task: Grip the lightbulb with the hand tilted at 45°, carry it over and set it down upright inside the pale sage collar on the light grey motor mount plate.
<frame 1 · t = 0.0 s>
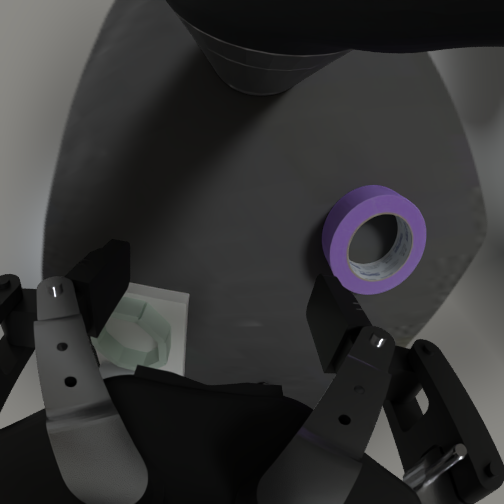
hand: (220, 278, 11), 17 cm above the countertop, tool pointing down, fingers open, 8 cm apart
motor mount: (138, 336, 36), on the countertop
masking tape: (368, 233, 30), on the countertop
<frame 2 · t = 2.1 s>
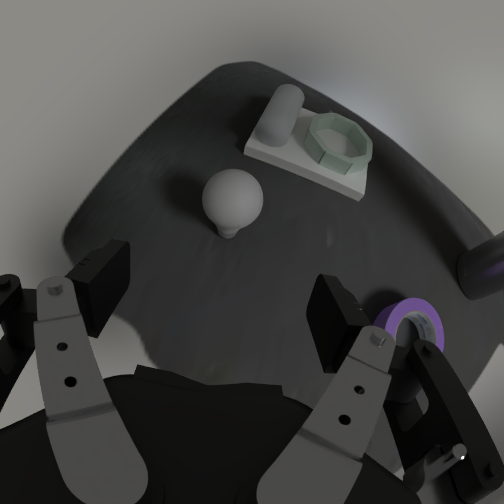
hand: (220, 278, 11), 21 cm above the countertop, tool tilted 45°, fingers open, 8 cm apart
lightbulb: (226, 232, 35), on the countertop
motor mount: (311, 147, 43), on the countertop
masking tape: (399, 343, 33), on the countertop
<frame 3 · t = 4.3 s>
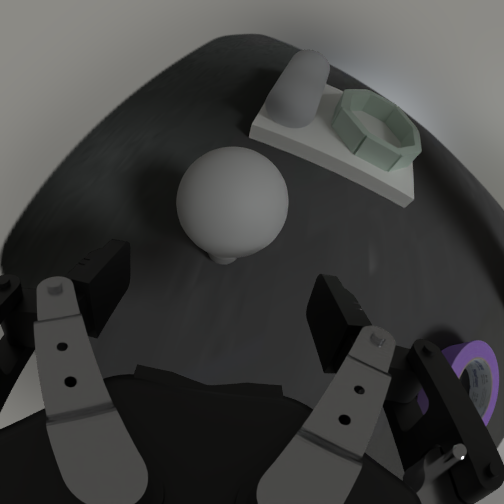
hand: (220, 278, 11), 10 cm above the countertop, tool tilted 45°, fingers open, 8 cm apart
lightbulb: (222, 253, 23), on the countertop
motor mount: (340, 133, 30), on the countertop
masking tape: (449, 395, 21), on the countertop
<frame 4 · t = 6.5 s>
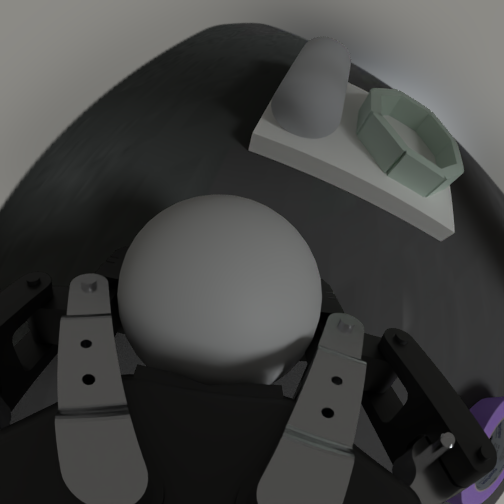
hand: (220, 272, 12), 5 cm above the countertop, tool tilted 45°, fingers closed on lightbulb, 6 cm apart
lightbulb: (212, 324, 16), on the countertop, touching gripper
motor mount: (364, 143, 24), on the countertop
masking tape: (470, 450, 14), on the countertop
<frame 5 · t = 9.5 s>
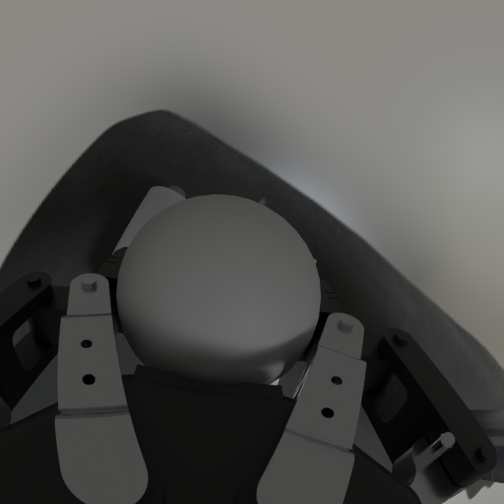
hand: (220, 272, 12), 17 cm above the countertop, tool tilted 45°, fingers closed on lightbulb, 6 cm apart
lightbulb: (211, 324, 16), point 12 cm above the countertop, touching gripper
motor mount: (207, 290, 28), on the countertop
when the fingers open (8 cm above the countertop, at t = 12.6 s): lightbulb drops 1 cm, resting on motor mount.
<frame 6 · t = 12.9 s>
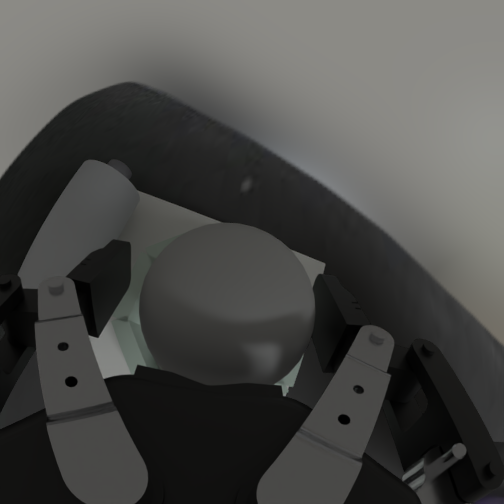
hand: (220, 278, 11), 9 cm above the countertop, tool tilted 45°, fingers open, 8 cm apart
lightbulb: (217, 331, 17), point 2 cm above the countertop, touching motor mount
motor mount: (165, 310, 19), on the countertop
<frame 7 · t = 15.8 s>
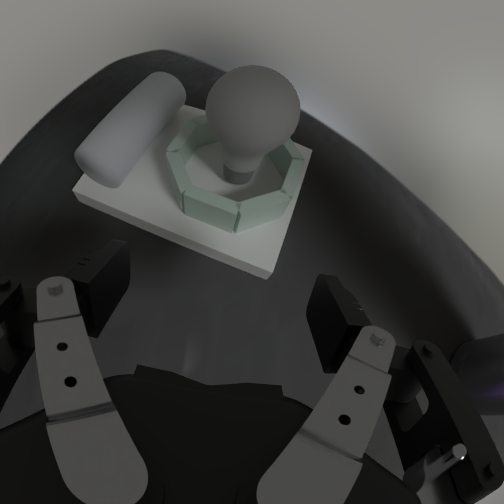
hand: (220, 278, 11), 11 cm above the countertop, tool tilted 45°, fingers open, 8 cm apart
lightbulb: (236, 179, 24), point 2 cm above the countertop, touching motor mount
motor mount: (196, 175, 25), on the countertop
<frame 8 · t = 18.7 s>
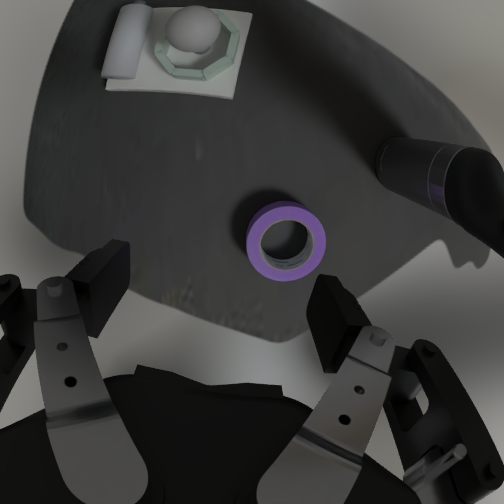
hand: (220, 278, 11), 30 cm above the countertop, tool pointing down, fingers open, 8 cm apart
lightbulb: (202, 48, 29), point 2 cm above the countertop, touching motor mount
motor mount: (178, 49, 31), on the countertop
masking tape: (283, 236, 43), on the countertop
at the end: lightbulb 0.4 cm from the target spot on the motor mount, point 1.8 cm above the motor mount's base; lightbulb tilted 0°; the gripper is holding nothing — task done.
